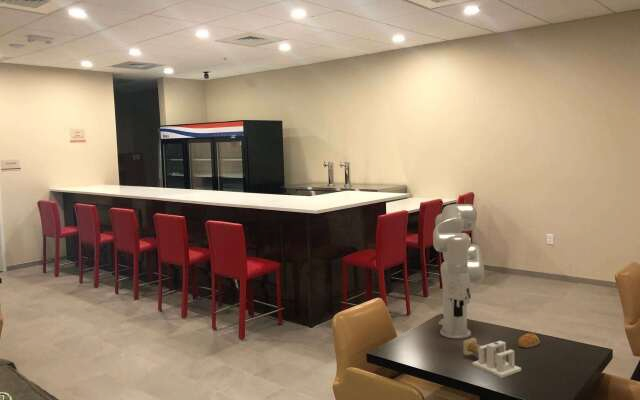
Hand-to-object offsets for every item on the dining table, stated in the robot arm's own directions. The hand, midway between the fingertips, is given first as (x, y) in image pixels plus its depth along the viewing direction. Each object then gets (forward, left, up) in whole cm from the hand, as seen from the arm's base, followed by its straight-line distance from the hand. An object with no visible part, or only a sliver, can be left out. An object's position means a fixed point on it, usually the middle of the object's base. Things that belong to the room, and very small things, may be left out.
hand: (458, 316), depth 195 cm
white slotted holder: (+18, 0, -14) cm, 23 cm away
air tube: (+13, 0, -13) cm, 18 cm away
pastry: (+10, +28, -15) cm, 33 cm away
